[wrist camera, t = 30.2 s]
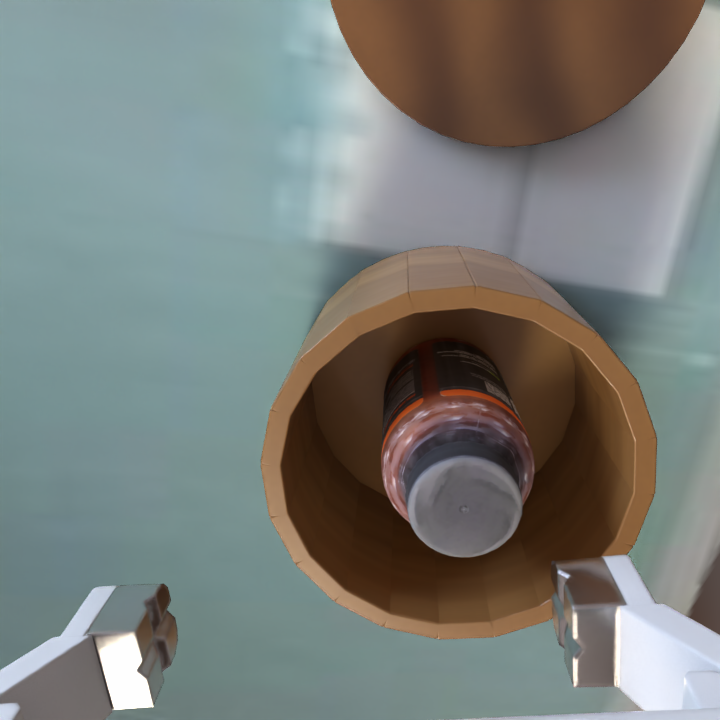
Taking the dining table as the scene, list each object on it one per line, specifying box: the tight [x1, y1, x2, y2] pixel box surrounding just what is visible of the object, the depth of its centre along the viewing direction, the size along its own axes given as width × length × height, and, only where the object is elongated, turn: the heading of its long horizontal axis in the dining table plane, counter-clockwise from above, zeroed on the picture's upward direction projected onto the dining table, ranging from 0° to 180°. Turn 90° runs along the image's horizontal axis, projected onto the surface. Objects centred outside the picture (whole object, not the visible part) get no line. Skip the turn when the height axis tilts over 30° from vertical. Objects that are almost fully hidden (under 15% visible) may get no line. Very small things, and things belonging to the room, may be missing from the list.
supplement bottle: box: [381, 338, 535, 557], centre depth 28 cm, size 6×6×11 cm
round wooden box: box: [261, 246, 657, 639], centre depth 30 cm, size 15×15×10 cm
